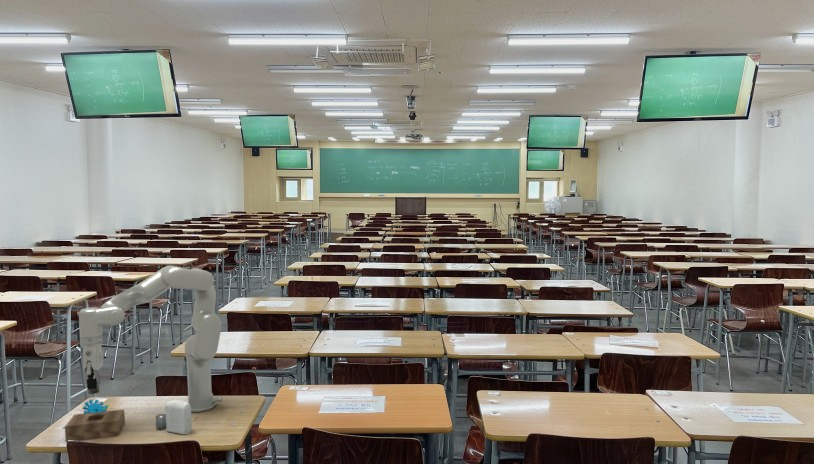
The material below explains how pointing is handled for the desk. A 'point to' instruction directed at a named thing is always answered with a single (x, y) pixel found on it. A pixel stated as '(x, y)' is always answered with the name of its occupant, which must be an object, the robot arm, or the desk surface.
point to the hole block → (95, 425)
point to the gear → (94, 407)
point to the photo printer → (178, 417)
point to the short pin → (161, 422)
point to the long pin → (97, 390)
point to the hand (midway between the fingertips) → (93, 386)
